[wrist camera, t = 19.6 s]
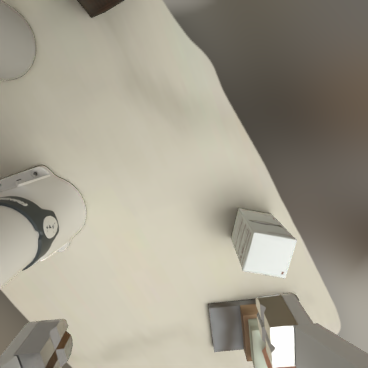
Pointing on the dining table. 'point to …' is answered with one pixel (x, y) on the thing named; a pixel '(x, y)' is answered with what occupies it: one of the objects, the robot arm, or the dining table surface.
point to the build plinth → (237, 329)
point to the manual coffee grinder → (98, 6)
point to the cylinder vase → (15, 44)
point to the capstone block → (269, 360)
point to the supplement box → (262, 243)
